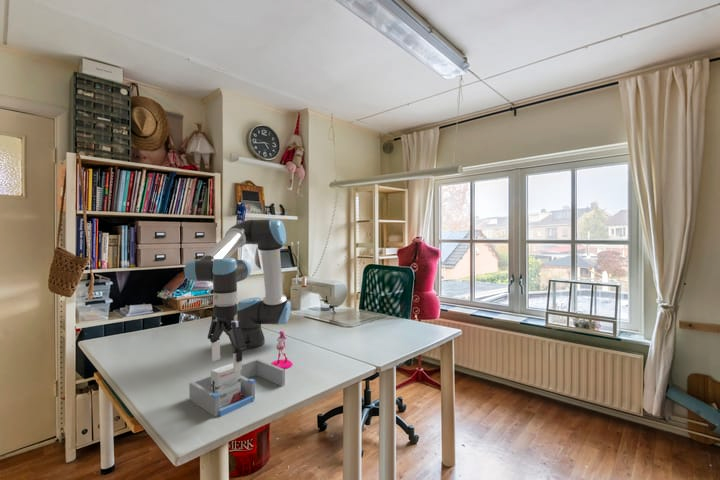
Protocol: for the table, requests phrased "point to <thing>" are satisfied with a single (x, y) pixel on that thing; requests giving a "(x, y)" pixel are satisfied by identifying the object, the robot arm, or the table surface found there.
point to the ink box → (226, 384)
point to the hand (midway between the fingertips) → (226, 365)
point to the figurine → (280, 346)
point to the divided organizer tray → (210, 401)
